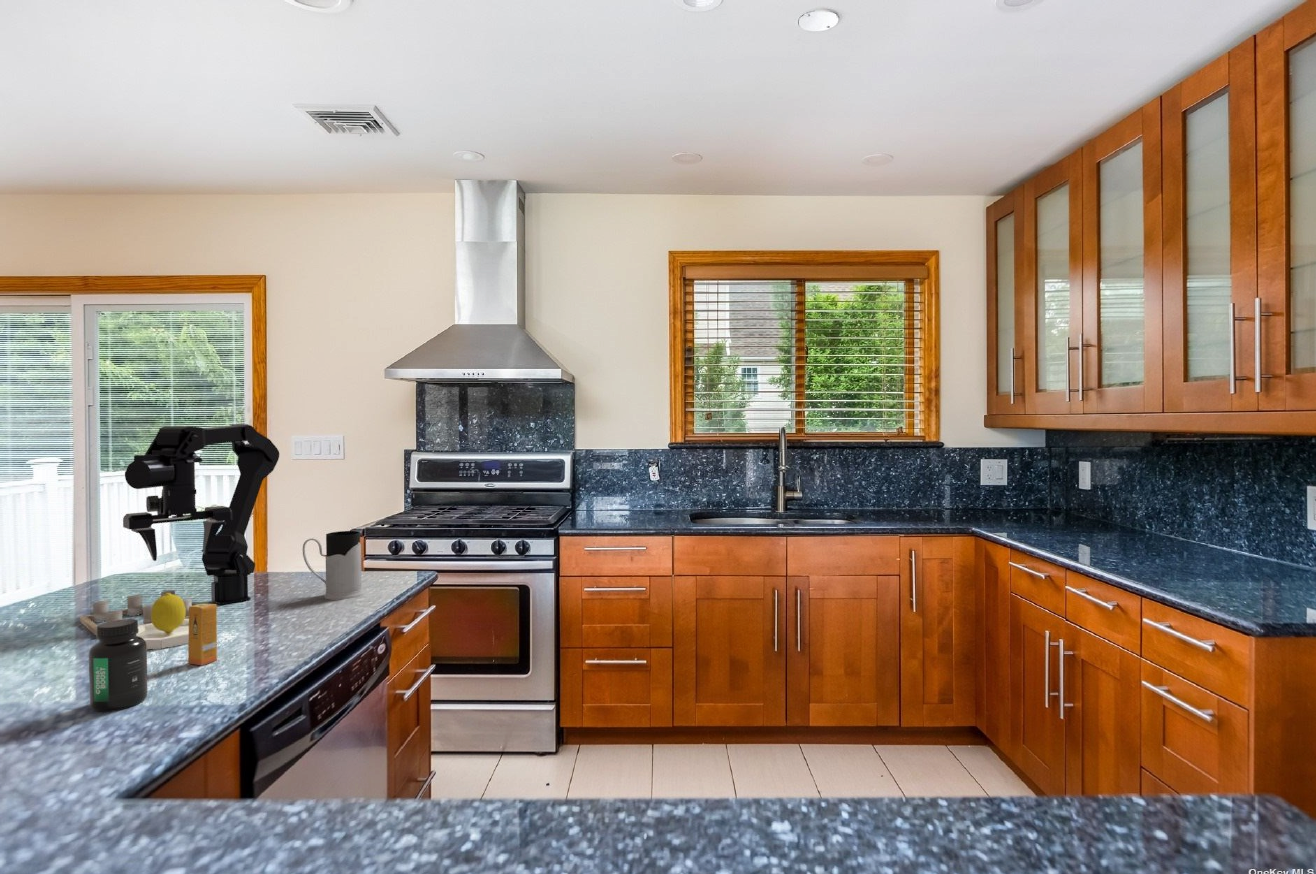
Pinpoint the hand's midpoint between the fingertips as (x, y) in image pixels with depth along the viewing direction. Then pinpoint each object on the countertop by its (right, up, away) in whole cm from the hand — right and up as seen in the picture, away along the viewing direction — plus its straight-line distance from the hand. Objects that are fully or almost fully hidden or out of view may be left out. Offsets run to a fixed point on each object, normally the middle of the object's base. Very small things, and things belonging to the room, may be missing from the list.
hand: (180, 557), depth 150 cm
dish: (+7, -13, -14) cm, 21 cm away
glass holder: (+24, -13, +19) cm, 33 cm away
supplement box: (+23, -14, -28) cm, 39 cm away
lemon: (+7, -13, -14) cm, 20 cm away
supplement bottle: (+22, -14, -46) cm, 53 cm away
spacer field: (-7, -13, -2) cm, 15 cm away
